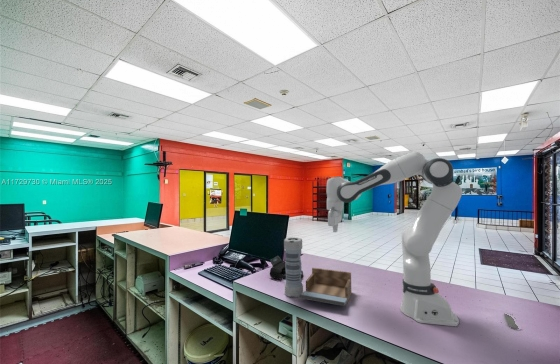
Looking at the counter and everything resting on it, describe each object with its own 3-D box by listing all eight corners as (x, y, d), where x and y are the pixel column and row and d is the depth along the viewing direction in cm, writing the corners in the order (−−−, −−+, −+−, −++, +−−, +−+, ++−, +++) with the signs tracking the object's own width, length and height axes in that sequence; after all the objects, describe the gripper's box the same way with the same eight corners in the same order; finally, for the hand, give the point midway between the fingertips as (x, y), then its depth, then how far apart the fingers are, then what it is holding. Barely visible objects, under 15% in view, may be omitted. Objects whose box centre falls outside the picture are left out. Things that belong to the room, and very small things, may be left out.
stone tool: (524, 330, 97) (507, 324, 100) (523, 333, 97) (507, 327, 100) (517, 315, 108) (502, 310, 111) (516, 318, 108) (501, 313, 111)
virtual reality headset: (278, 267, 173) (280, 254, 173) (306, 277, 163) (308, 263, 163) (264, 276, 157) (266, 261, 156) (295, 288, 147) (297, 272, 146)
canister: (302, 298, 128) (301, 241, 129) (283, 296, 130) (282, 240, 131) (304, 290, 138) (303, 237, 138) (286, 288, 140) (285, 236, 140)
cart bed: (351, 292, 134) (351, 272, 134) (347, 303, 122) (347, 281, 122) (312, 286, 143) (312, 267, 143) (305, 296, 130) (305, 275, 131)
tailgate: (347, 297, 121) (344, 302, 113) (347, 301, 121) (344, 306, 113) (305, 290, 130) (299, 294, 122) (305, 293, 130) (299, 297, 121)
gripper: (337, 208, 121) (337, 236, 121) (343, 205, 140) (344, 229, 140) (324, 208, 124) (325, 235, 124) (332, 204, 143) (333, 228, 142)
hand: (335, 231), depth 132 cm, fingers closed
